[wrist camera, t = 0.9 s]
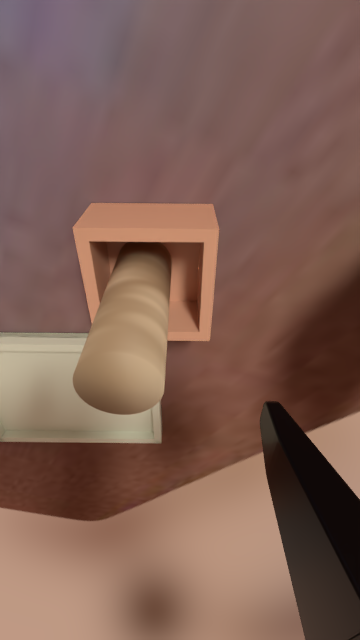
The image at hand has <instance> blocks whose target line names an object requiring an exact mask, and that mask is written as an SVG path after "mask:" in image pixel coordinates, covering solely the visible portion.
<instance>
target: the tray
mask: <svg viewBox="0 0 360 640" xmlns="http://www.w3.org/2000/svg"><path fill="white" fill-rule="evenodd" d="M88 334H89V333H6V332H0V442H81V443H162V412H161V400H160V401H159V402H158V403H157V404H156V405H155V406H154V407H152V408H150V409H149V410H146V411H144V412H141V413H137V414H130V415H118V414H111V413H107V412H103V411H100V410H98V409H96V408H94V407H92V406H90V405H88V404H87V403H86V402H84V401H83V400H82V399H81V398H80V397H79V395H78V394H77V393H76V391H75V389H74V386H73V374H74V371H75V369H76V366H77V363H78V361H79V358H80V355H81V353H82V350H83V347H84V345H85V342H86V339H87V337H88Z"/></svg>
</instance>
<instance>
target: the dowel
mask: <svg viewBox="0 0 360 640" xmlns="http://www.w3.org/2000/svg"><path fill="white" fill-rule="evenodd" d="M171 271H172V259H171V255H170V253H169V251H168V250H167V248H166V247H165V246H164V245H163V244H162V243H160V242H127V243H126V244H124V246H123V247H122V248H121V250H120V252H119V255H118V257H117V260H116V263H115V265H114V268H113V271H112V273H111V276H110V279H109V281H108V284H107V286H106V289H105V292H104V294H103V297H102V300H101V302H100V305H99V308H98V310H97V313H96V316H95V318H94V321H93V324H92V326H91V329H90V331H89V334H88V337H87V339H86V342H85V345H84V347H83V350H82V353H81V355H80V358H79V361H78V363H77V366H76V369H75V371H74V374H73V386H74V389H75V391H76V393H77V394H78V395H79V397H80V398H81V399H82V400H83V401H84V402H86V403H87V404H88V405H90V406H92V407H94V408H96V409H98V410H100V411H103V412H107V413H111V414H118V415H130V414H137V413H141V412H144V411H146V410H149V409H150V408H152V407H154V406H155V405H156V404H157V403H158V402H159V401H160V400H161V398H162V396H163V393H164V386H165V369H166V353H167V336H168V320H169V304H170V287H171Z"/></svg>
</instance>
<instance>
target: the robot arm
mask: <svg viewBox="0 0 360 640" xmlns="http://www.w3.org/2000/svg"><path fill="white" fill-rule="evenodd" d="M260 429H261V437H262V445H263V453H264V461H265V469H266V475H267V480H268V485H269V489H270V493H271V497H272V501H273V505H274V510H275V514H276V518H277V522H278V526H279V531H280V535H281V539H282V543H283V548H284V552H285V556H286V560H287V564H288V569H289V573H290V576H291V581H292V585H293V590H294V594H295V598H296V602H297V606H298V610H299V615H300V619H301V623H302V627H303V631H304V636H305V640H360V499H359V498H358V497H357V496H356V495H355V493H354V492H353V491H352V490H351V489H350V487H349V486H348V485H347V484H346V482H345V481H344V480H343V479H342V478H341V477H340V475H339V474H338V473H337V472H336V470H335V469H334V468H333V467H332V466H331V464H330V463H329V462H328V461H327V459H326V458H325V457H324V456H323V455H322V453H321V452H320V451H319V450H318V449H317V447H316V446H315V445H314V444H313V443H312V442H311V440H310V439H309V438H308V437H307V435H306V434H305V433H304V432H303V430H302V429H301V428H300V427H299V426H298V424H297V423H296V422H295V421H294V420H293V418H292V417H291V416H290V415H289V414H288V412H287V411H286V410H285V409H284V407H283V406H282V405H281V404H280V403H279V402H277V401H266V402H265V403H264V405H263V409H262V413H261V417H260Z"/></svg>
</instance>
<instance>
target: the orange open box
mask: <svg viewBox="0 0 360 640" xmlns="http://www.w3.org/2000/svg"><path fill="white" fill-rule="evenodd" d="M73 232H74V237H75V242H76V247H77V252H78V257H79V262H80V267H81V272H82V277H83V282H84V287H85V292H86V297H87V302H88V307H89V312H90V317H91V322H92V324H93V321H94V318H95V316H96V313H97V310H98V308H99V305H100V302H101V300H102V297H103V294H104V292H105V289H106V286H107V284H108V281H109V279H110V276H111V273H112V271H113V268H114V265H115V263H116V260H117V257H118V255H119V252H120V250H121V248H122V247H123V246H124V244H126V243H127V242H160V243H162V244H163V245H164V246H165V247H166V248H167V250H168V251H169V253H170V255H171V259H172V271H171V287H170V304H169V320H168V336H167V341H210V333H211V321H212V309H213V297H214V285H215V272H216V260H217V248H218V236H219V227H218V223H217V219H216V215H215V211H214V207H213V204H156V203H91V204H90V206H89V207H88V208H87V210H86V211H85V212H84V213H83V215H82V216H81V217H80V219H79V220H78V221H77V223H76V224H75V225H74V226H73Z"/></svg>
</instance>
